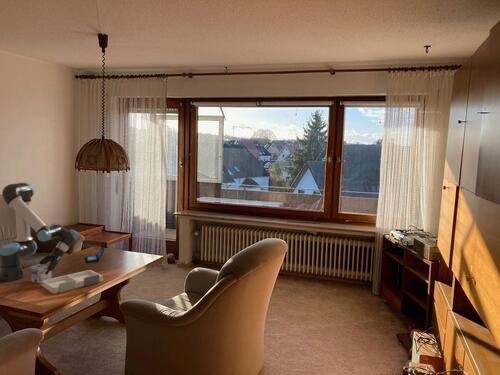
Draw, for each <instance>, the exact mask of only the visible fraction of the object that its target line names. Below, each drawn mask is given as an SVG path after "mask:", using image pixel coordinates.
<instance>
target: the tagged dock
mask: <svg viewBox="0 0 500 375" xmlns="http://www.w3.org/2000/svg"><path fill="white" fill-rule="evenodd" d="M101 282H104V275H102V274H100V273H98V272H95V271H94V270H92V269H88V270H87V269H86V270H83V271H78V272H74V273H70V274H65V275H60V276H57V277H51V279H47V280H43V281H41V283H40V284H41V287H43V288H44V289H46V290H47V291H49V292H50V293H52V294H58V293H64V292H66V291H67V292H68V291H72V290H75V289H77V288H81V287H87V286H91V285H95V284H98V283H101Z"/></svg>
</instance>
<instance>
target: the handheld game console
mask: <svg viewBox="0 0 500 375" xmlns="http://www.w3.org/2000/svg"><path fill="white" fill-rule="evenodd" d="M104 252H105V249H104V246H103V245H102V246H101V248H100V249H99V251H98V252H97V254H95V255H87V256H85V260H86V261H85V262H86V263H88V264H89V263H98V262H100V259H101V257H102V256H103V254H104Z"/></svg>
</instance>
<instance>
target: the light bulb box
mask: <svg viewBox="0 0 500 375" xmlns="http://www.w3.org/2000/svg"><path fill="white" fill-rule="evenodd" d="M48 267H49V264H45V265H42V264H40V263H38V264H36V265H33V266H31V267H30V269H31V270H30V272H31V282H32V283H36V284H42V283H41V281H43V280H47V279H51V278H52V270H51V271H50V272H49V273H48V274H47V275H46V277H45V278H44V279H42V278H41V277H40V276H41V275H42V273H43V272H44V271H45V270H46V269H47V268H48Z"/></svg>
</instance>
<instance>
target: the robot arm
mask: <svg viewBox="0 0 500 375" xmlns="http://www.w3.org/2000/svg"><path fill="white" fill-rule="evenodd" d="M34 189H35V188H34V187H33V186H32V185H31V184H30V183H28V182H17V183H12V184H11V183H10V184H7V185H5V187H3V189H2V192H1V196H2V199H3V201H4V203H6V204H7V206H8V207H11V208H12V209H13V210H14V211H15V227H16V230H15V231H16V238H15V239H14V242H10V243H6V244H3V245H2V246H0V280H2V281H1V282H10V281H11V282H12V281H16V280H21V279H22V278H24V277H25V272H24V270H23V267H22V265H21V263H22V262H21V260H23V259H25V258H29V257H31V256H32V255H34V254H35V253H36V252H37V249H38V245H37V242H35V240H34V237H33V236H31V228H32V229H33V231H35V232H36V233H37V235H36V237H37V239H38V241H39V242H47V241H50V240H53V239H56V238H59V239H60V241H59V242H58V243H57V245H56V246H55V247H54V248H52V252H49V253H48V254H47V255H46V256H45V257H44V258H42V259H41V260H40V261H39V262H38V264H42V265H47V264H48V263H49V264H48V265H49V267H48V268H47V269H46V270H45V271H44V272H43V273H42V275H41V276H40V277H41V278H42V279H44V278H45V277H46V275H47V274H48V273H49V272H50V271H51V272H53V271H54V270H55V268H56V266H57V265H58V263H59V261H60V260H61V259H62V257H63V256H64V255H65V253H66V252H67V251H68V250H69V249H70V247H72V245H73V244H74V243H75V242H76V241H77V240H78V238H79V237H80V234H79V233H78V232H77V230H74V229H73V228H72V229H69V230H68V229H67V228H65V227H64V226H62V225H61V224H59V223H57V222H53V223H52V224H51V225H49V226H48V225H47V224H46V223H45V222H44V221H43V220H42V219H41V218H40V216H38V215H37V214H36V212H34V211H33V209H31V208H30V203H31V202H32V198H33V196H34V194H35V190H34Z"/></svg>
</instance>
